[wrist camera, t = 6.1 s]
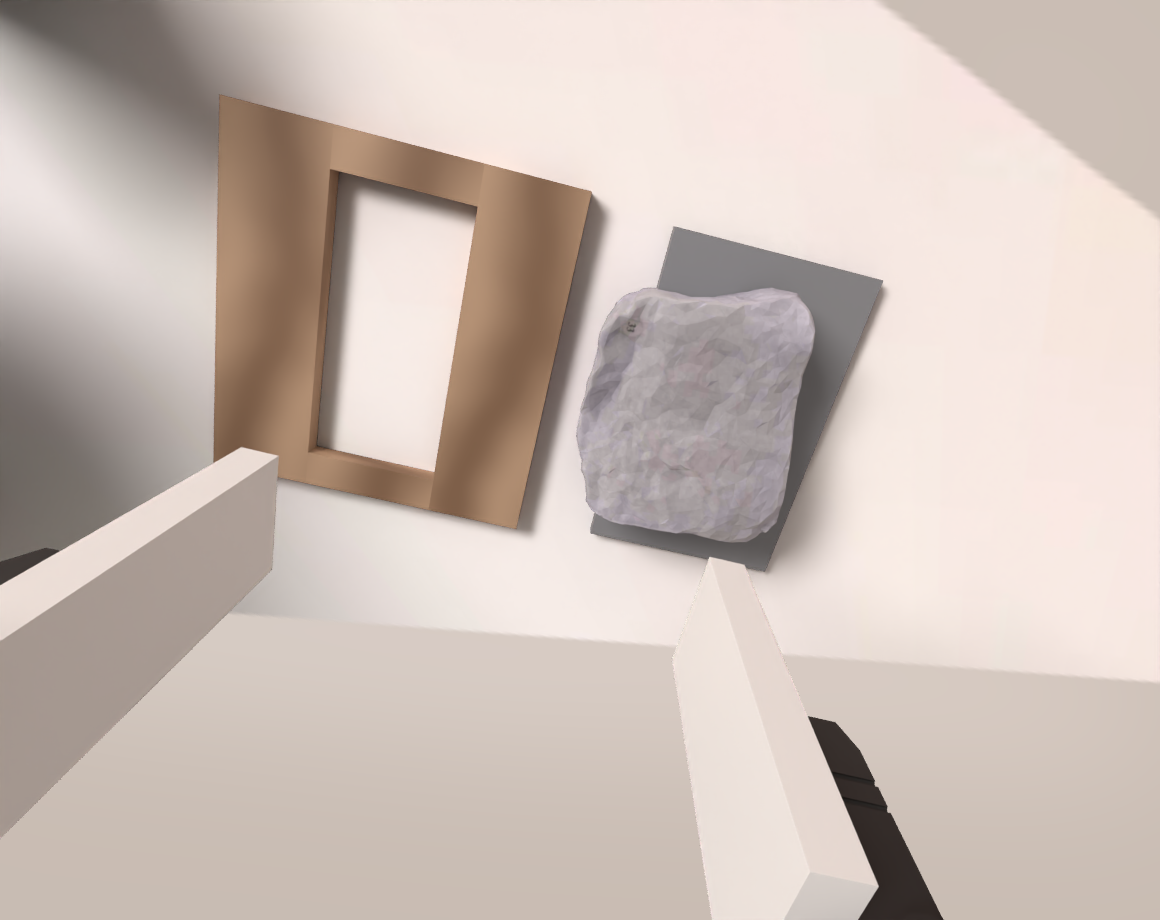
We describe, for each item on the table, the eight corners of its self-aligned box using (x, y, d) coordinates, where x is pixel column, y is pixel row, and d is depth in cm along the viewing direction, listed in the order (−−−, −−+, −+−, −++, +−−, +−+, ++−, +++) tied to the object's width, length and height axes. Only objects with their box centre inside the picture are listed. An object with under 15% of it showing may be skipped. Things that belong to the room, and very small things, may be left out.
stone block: (586, 496, 33) (770, 521, 32) (566, 532, 29) (779, 563, 27) (600, 276, 30) (810, 288, 28) (579, 278, 25) (828, 293, 23)
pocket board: (224, 456, 32) (213, 463, 31) (232, 99, 26) (219, 94, 25) (517, 520, 33) (515, 529, 32) (591, 193, 27) (591, 191, 26)
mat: (590, 528, 33) (590, 533, 32) (673, 226, 27) (675, 226, 27) (761, 565, 34) (764, 571, 33) (877, 279, 28) (883, 280, 27)
